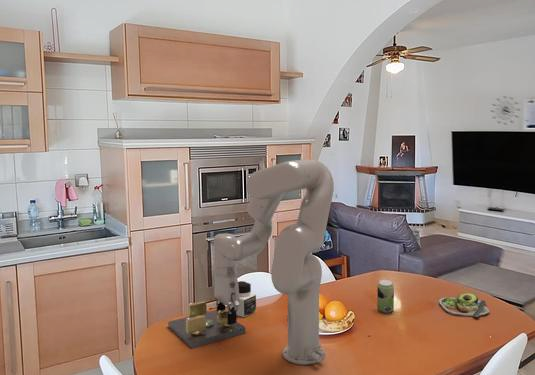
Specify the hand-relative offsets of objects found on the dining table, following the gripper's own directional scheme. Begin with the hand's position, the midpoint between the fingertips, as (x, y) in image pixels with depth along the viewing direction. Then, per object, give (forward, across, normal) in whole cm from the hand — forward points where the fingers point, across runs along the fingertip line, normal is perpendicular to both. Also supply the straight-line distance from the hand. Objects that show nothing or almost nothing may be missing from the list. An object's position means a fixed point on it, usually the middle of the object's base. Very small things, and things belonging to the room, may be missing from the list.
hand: (226, 319), depth 159 cm
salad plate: (+5, -34, -85) cm, 92 cm away
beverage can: (+4, -19, -58) cm, 61 cm away
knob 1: (+2, 0, +12) cm, 12 cm away
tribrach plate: (+4, +5, +6) cm, 9 cm away
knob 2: (+2, 0, 0) cm, 2 cm away
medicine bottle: (+4, +11, -13) cm, 18 cm away
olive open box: (+2, +12, +6) cm, 13 cm away
